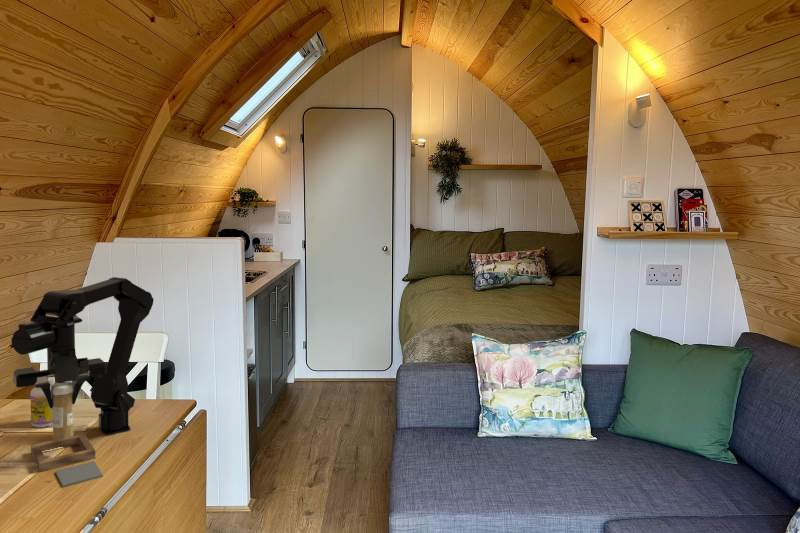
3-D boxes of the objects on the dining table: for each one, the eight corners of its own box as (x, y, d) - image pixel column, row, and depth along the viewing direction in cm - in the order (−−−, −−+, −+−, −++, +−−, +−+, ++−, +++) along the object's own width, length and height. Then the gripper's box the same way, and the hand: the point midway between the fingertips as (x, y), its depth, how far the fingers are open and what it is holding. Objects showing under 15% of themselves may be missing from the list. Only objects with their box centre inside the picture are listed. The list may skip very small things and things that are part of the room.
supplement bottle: (25, 425, 149) (23, 380, 147) (47, 416, 155) (46, 373, 154) (43, 430, 147) (42, 384, 145) (65, 421, 153) (64, 377, 152)
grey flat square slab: (94, 462, 132) (94, 461, 132) (102, 476, 126) (102, 474, 126) (55, 472, 126) (55, 470, 126) (62, 487, 121) (62, 485, 120)
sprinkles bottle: (77, 436, 134) (76, 384, 132) (57, 442, 131) (55, 389, 129) (68, 431, 137) (67, 379, 135) (48, 437, 133) (47, 384, 131)
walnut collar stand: (84, 440, 142) (83, 433, 142) (95, 458, 134) (95, 450, 134) (31, 452, 135) (30, 445, 134) (39, 472, 126) (39, 463, 126)
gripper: (19, 358, 118) (21, 426, 120) (112, 346, 131) (113, 408, 133) (11, 345, 127) (13, 409, 129) (100, 335, 139) (101, 394, 141)
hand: (62, 405), depth 133 cm, fingers closed on sprinkles bottle, 4 cm apart
